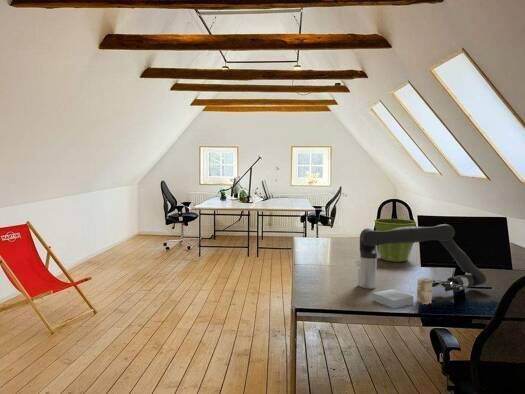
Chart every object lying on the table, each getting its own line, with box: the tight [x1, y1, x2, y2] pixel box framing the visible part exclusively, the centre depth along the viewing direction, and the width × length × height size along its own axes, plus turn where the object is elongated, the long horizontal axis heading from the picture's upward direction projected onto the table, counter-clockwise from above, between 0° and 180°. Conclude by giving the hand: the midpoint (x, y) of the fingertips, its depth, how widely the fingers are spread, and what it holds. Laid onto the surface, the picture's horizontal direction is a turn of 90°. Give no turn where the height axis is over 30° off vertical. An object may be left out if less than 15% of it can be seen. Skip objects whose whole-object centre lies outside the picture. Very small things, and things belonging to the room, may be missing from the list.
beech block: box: [416, 277, 433, 305], centre depth 223 cm, size 5×5×12 cm
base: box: [372, 288, 414, 309], centre depth 223 cm, size 14×14×4 cm
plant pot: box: [374, 218, 417, 263], centre depth 322 cm, size 30×30×29 cm
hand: (438, 287), depth 229 cm, fingers open, 8 cm apart
